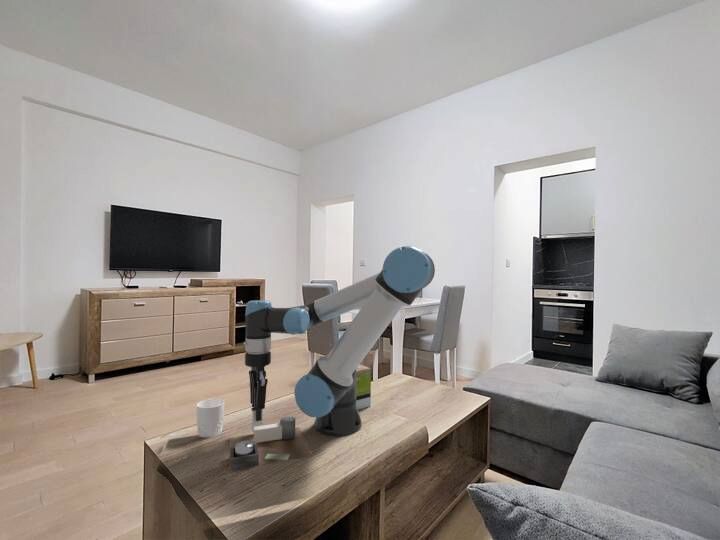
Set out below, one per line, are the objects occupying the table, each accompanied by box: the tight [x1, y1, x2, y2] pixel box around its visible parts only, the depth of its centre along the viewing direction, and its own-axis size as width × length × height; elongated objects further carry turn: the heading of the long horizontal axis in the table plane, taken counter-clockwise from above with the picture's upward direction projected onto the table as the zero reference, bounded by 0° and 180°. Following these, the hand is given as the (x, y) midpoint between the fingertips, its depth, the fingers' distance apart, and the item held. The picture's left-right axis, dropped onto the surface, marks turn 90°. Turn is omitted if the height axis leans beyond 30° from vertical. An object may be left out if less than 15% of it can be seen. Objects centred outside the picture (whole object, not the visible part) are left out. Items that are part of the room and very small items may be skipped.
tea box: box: [356, 363, 372, 411], centre depth 131 cm, size 15×10×15 cm, turn 35°
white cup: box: [195, 398, 226, 438], centre depth 103 cm, size 8×8×10 cm
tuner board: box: [229, 426, 313, 472], centre depth 95 cm, size 20×18×4 cm
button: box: [235, 441, 253, 457], centre depth 87 cm, size 4×4×3 cm
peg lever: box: [253, 416, 296, 443], centre depth 99 cm, size 12×4×5 cm, turn 111°
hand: (257, 430), depth 102 cm, fingers closed
